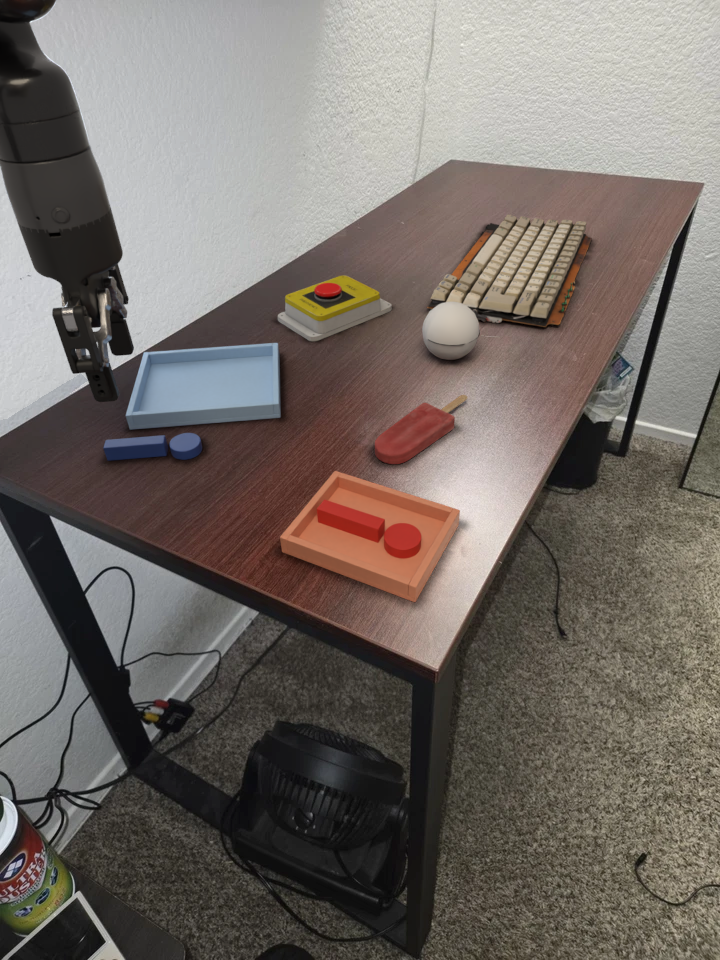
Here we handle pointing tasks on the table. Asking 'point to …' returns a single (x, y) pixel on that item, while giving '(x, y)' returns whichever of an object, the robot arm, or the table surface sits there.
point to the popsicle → (415, 432)
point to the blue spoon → (153, 447)
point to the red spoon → (371, 528)
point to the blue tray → (206, 386)
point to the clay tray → (365, 555)
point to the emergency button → (331, 307)
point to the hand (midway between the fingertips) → (116, 375)
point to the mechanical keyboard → (518, 271)
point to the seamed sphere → (451, 330)
